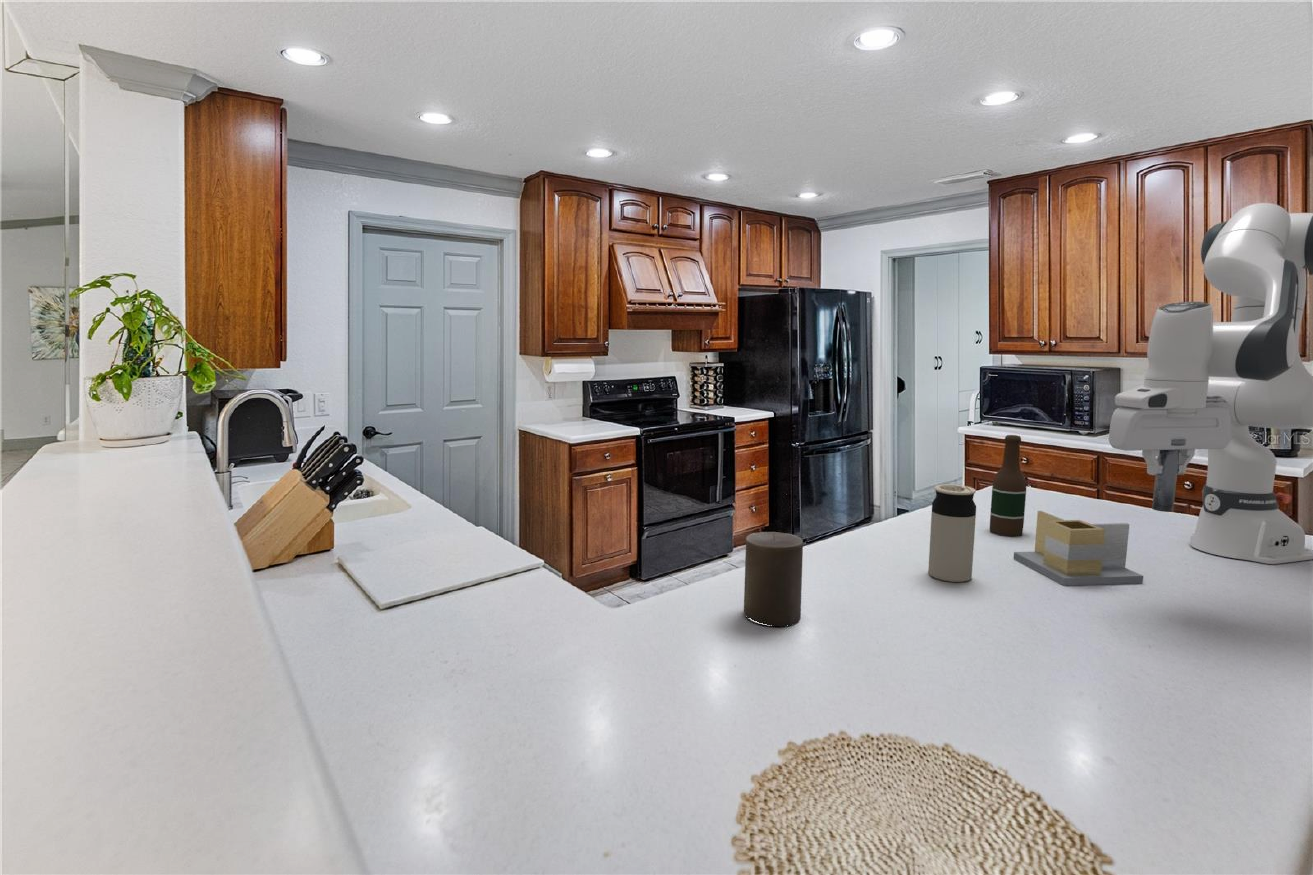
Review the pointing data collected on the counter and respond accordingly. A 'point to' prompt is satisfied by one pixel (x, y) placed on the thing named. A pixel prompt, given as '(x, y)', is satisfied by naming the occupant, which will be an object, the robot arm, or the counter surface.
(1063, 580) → the mounting board
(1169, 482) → the hinge pin
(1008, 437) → the beer bottle
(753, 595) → the pillar candle
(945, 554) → the travel mug
